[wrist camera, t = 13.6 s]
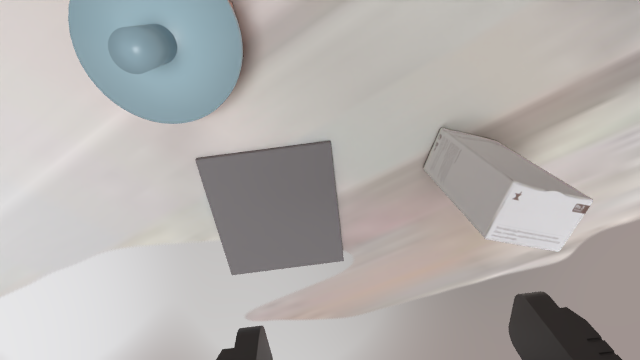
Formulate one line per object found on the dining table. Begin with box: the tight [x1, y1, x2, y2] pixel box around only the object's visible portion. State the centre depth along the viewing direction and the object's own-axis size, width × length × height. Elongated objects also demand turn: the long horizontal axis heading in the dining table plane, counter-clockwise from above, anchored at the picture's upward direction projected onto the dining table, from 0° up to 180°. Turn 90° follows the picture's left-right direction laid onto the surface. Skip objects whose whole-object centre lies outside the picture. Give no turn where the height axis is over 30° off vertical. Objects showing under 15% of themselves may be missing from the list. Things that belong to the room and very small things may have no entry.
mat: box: [196, 141, 344, 275], centre depth 44 cm, size 16×18×1 cm
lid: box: [68, 0, 243, 124], centre depth 27 cm, size 14×14×6 cm
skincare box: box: [423, 128, 593, 252], centre depth 35 cm, size 8×6×15 cm
